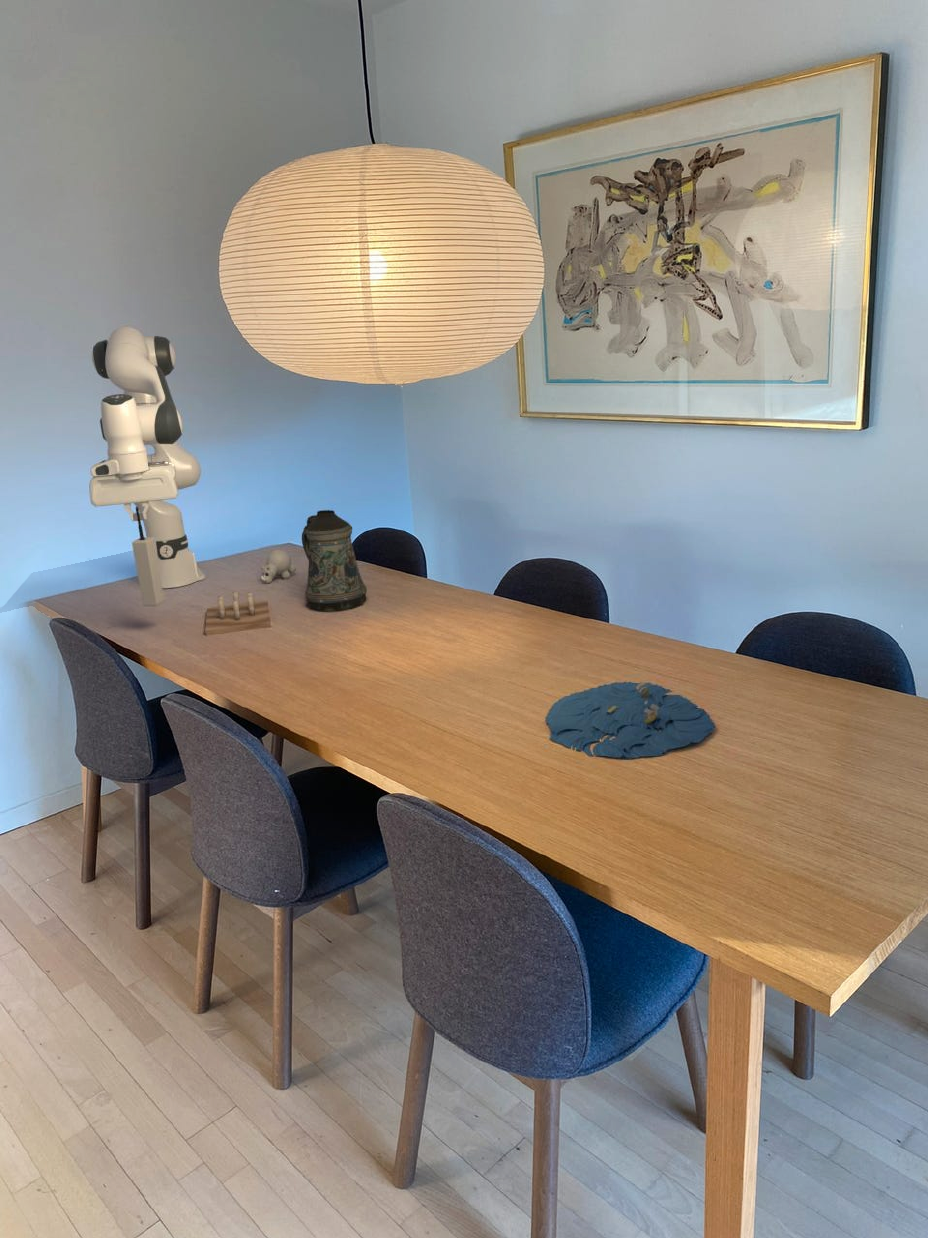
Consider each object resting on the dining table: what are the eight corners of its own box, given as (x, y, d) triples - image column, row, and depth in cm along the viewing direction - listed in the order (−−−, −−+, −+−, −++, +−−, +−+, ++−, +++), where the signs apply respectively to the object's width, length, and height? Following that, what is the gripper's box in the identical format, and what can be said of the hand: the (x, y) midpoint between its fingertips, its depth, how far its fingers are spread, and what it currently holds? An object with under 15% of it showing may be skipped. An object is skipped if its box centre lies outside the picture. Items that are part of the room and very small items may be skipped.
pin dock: (207, 612, 240) (204, 590, 238) (267, 604, 244) (265, 582, 242) (205, 635, 222) (202, 611, 220) (270, 626, 225) (267, 603, 223)
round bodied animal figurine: (259, 590, 268) (247, 567, 263) (284, 566, 275) (273, 544, 270) (276, 593, 264) (264, 569, 259) (301, 568, 271) (289, 546, 266)
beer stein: (350, 614, 231) (340, 519, 223) (285, 610, 238) (273, 518, 230) (377, 595, 246) (369, 506, 238) (315, 592, 252) (305, 505, 245)
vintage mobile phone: (166, 600, 228) (149, 503, 221) (157, 606, 224) (139, 507, 216) (152, 600, 229) (135, 504, 221) (143, 606, 224) (125, 508, 217)
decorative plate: (697, 781, 142) (698, 752, 140) (521, 752, 154) (520, 725, 152) (727, 701, 167) (729, 676, 165) (574, 682, 179) (573, 658, 177)
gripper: (174, 458, 220) (183, 513, 225) (87, 466, 216) (98, 522, 220) (173, 461, 214) (182, 518, 219) (83, 470, 210) (94, 527, 215)
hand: (139, 520), depth 220 cm, fingers closed on vintage mobile phone
